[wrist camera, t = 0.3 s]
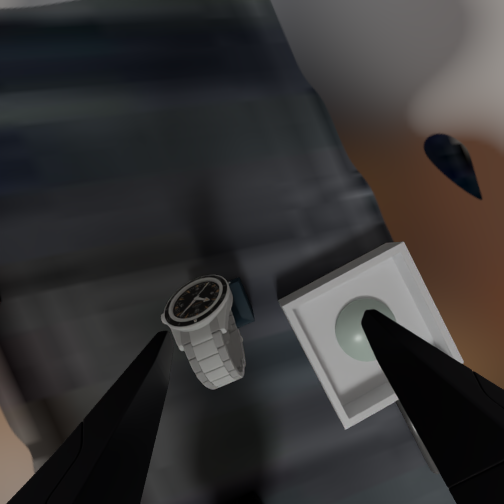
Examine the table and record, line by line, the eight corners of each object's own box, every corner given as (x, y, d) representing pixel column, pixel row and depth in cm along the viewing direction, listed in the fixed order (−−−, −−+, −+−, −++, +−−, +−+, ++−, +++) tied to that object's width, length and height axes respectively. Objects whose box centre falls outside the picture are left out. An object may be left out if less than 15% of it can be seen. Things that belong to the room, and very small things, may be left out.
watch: (232, 261, 23) (222, 270, 12) (258, 325, 23) (272, 392, 12) (187, 279, 23) (134, 306, 12) (213, 344, 23) (186, 430, 12)
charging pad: (483, 437, 24) (512, 459, 22) (379, 497, 24) (396, 527, 21) (386, 242, 24) (403, 241, 21) (277, 300, 23) (282, 306, 21)
